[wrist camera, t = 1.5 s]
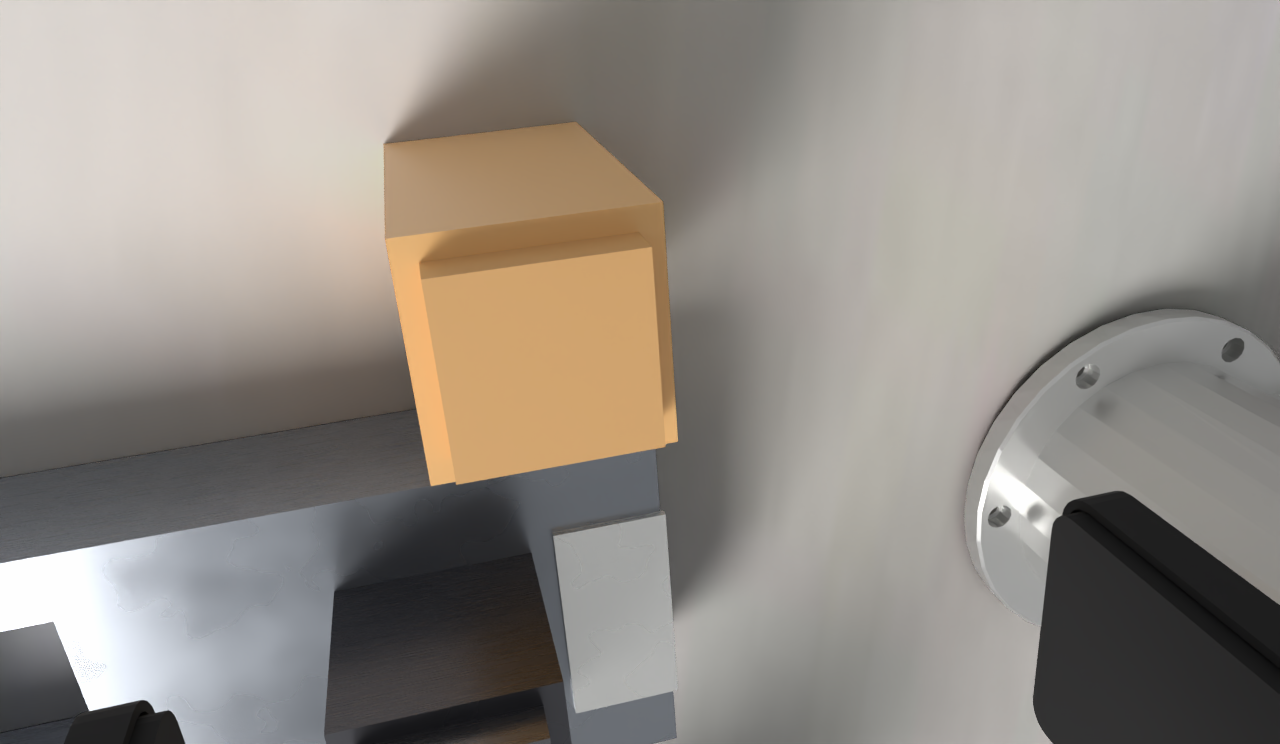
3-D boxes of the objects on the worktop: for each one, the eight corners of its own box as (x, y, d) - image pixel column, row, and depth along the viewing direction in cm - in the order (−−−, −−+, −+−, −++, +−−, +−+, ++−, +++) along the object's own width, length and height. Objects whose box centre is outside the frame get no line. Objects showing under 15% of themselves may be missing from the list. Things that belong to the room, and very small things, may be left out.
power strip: (620, 375, 29) (734, 579, 20) (643, 641, 33) (746, 914, 24) (-313, 530, 25) (-735, 889, 15) (-151, 815, 29) (-405, 1234, 19)
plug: (576, 121, 26) (677, 215, 17) (593, 298, 28) (691, 464, 19) (383, 143, 25) (385, 255, 16) (416, 325, 27) (433, 512, 18)
